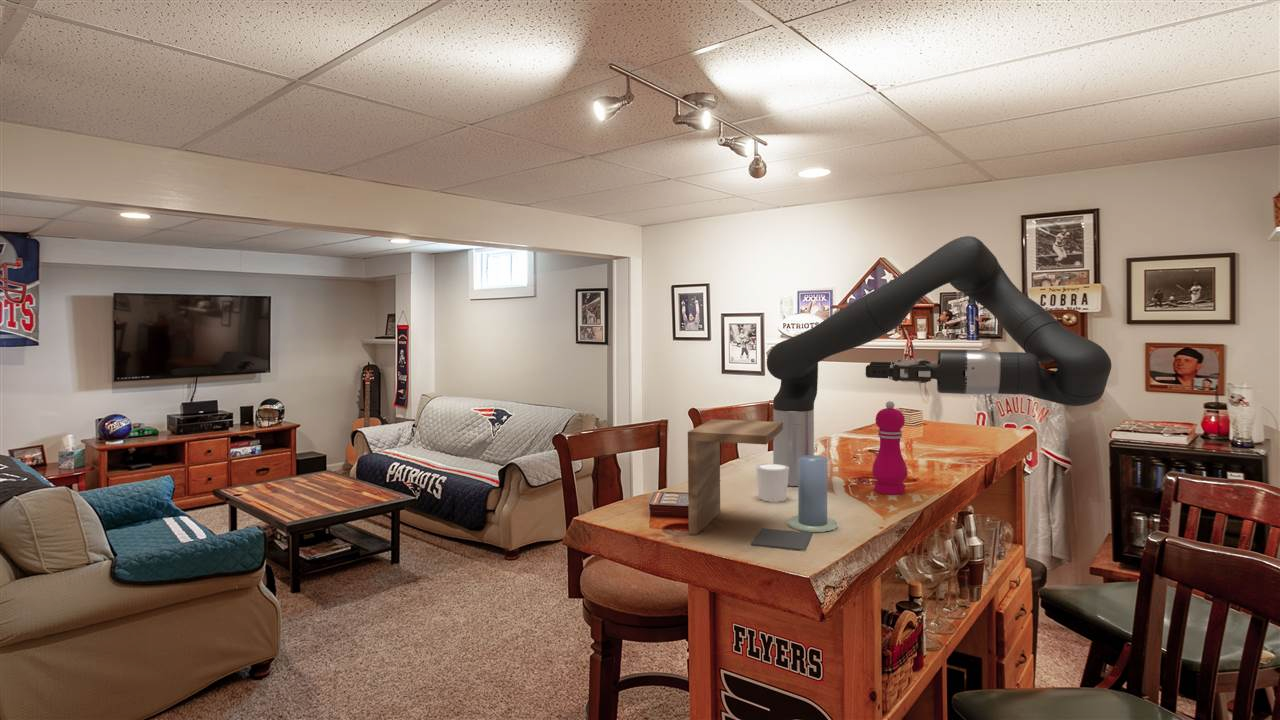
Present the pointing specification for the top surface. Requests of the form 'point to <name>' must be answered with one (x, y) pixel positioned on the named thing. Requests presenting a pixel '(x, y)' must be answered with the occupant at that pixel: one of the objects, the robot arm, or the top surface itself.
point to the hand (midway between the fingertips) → (867, 369)
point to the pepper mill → (889, 452)
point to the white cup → (772, 482)
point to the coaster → (796, 525)
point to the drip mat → (782, 539)
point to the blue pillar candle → (812, 490)
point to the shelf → (716, 462)
